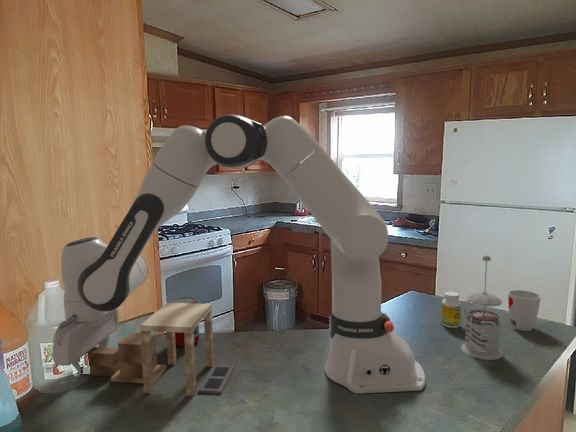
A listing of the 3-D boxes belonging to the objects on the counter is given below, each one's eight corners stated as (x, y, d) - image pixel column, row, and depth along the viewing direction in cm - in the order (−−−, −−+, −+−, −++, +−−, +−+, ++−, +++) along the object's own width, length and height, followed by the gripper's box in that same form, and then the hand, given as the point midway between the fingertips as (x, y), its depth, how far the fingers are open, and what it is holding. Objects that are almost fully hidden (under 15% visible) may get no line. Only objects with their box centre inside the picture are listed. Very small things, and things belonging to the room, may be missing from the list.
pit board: (234, 368, 99) (234, 365, 99) (221, 394, 88) (221, 390, 88) (214, 367, 99) (213, 364, 99) (198, 392, 89) (198, 389, 88)
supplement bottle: (445, 319, 127) (447, 289, 126) (463, 324, 123) (464, 293, 122) (437, 324, 124) (439, 293, 122) (455, 330, 120) (456, 297, 118)
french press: (483, 363, 100) (489, 261, 97) (447, 344, 111) (451, 252, 107) (512, 355, 104) (518, 257, 101) (474, 337, 115) (478, 248, 111)
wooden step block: (166, 368, 99) (164, 333, 98) (153, 384, 92) (150, 346, 91) (91, 364, 101) (89, 329, 100) (73, 379, 94) (70, 342, 93)
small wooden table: (213, 364, 101) (211, 304, 99) (193, 396, 87) (190, 327, 85) (170, 361, 102) (167, 302, 100) (144, 393, 89) (140, 325, 87)
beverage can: (193, 349, 109) (191, 305, 108) (169, 347, 111) (167, 303, 109) (203, 338, 116) (201, 296, 114) (180, 336, 117) (179, 295, 115)
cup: (508, 320, 127) (510, 288, 125) (539, 326, 122) (541, 293, 121) (504, 328, 120) (506, 295, 119) (536, 335, 115) (539, 300, 114)
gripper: (70, 326, 85) (75, 389, 87) (121, 294, 105) (125, 346, 107) (41, 325, 86) (47, 387, 87) (98, 293, 106) (102, 345, 108)
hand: (90, 364), depth 97 cm, fingers open, 8 cm apart
